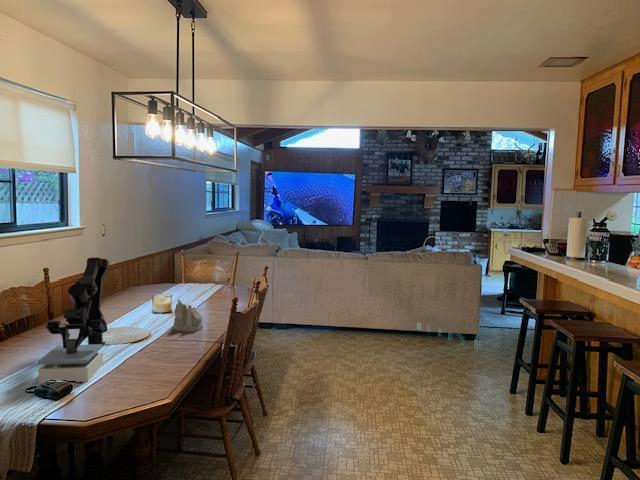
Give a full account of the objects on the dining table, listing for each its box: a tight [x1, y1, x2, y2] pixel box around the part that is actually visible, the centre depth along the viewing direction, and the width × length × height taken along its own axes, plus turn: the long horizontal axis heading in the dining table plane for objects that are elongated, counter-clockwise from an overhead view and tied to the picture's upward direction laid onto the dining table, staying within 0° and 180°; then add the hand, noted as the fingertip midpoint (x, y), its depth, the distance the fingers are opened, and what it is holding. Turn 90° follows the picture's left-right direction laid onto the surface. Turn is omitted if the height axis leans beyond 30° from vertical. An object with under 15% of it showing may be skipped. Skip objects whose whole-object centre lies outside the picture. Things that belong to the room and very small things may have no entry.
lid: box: [37, 338, 103, 365], centre depth 162 cm, size 16×16×6 cm
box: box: [37, 351, 104, 384], centre depth 163 cm, size 16×16×5 cm
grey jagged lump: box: [172, 299, 204, 333], centre depth 222 cm, size 16×16×15 cm
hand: (70, 348), depth 161 cm, fingers closed on lid, 4 cm apart
